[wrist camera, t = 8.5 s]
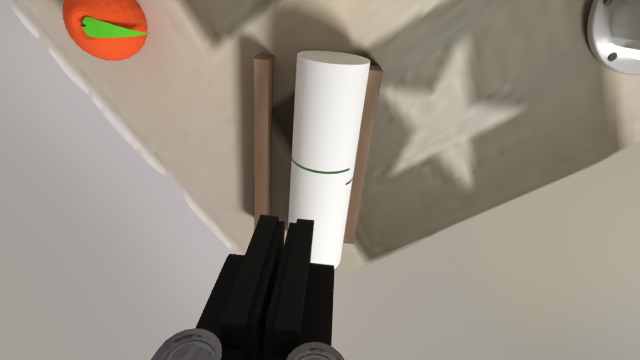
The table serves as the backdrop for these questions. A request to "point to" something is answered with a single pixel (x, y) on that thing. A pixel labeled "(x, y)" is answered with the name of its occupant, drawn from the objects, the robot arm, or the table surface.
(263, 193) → the cradle rails
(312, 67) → the cylindrical container
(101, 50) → the clementine
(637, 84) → the table surface
